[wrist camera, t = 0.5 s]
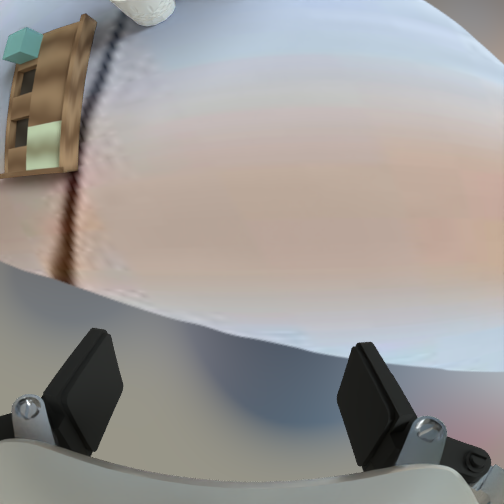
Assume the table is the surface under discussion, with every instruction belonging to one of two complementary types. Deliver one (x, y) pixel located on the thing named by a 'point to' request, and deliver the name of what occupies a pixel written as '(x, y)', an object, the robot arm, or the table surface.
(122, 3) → the white cup
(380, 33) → the table surface
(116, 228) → the table surface
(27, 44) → the block
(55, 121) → the board
